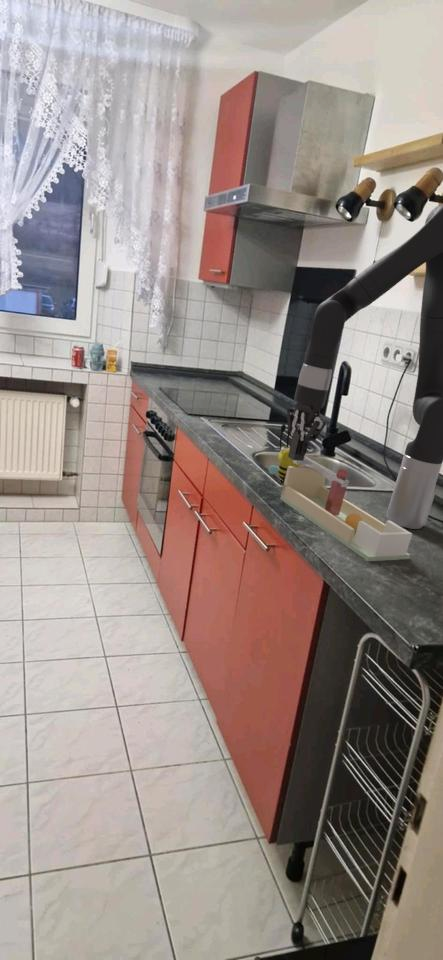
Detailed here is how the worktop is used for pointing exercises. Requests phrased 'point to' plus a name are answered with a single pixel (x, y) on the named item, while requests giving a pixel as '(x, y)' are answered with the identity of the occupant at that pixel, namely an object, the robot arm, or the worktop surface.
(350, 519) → the ball
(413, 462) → the robot arm
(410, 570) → the worktop surface
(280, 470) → the toy
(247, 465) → the worktop surface
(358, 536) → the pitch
